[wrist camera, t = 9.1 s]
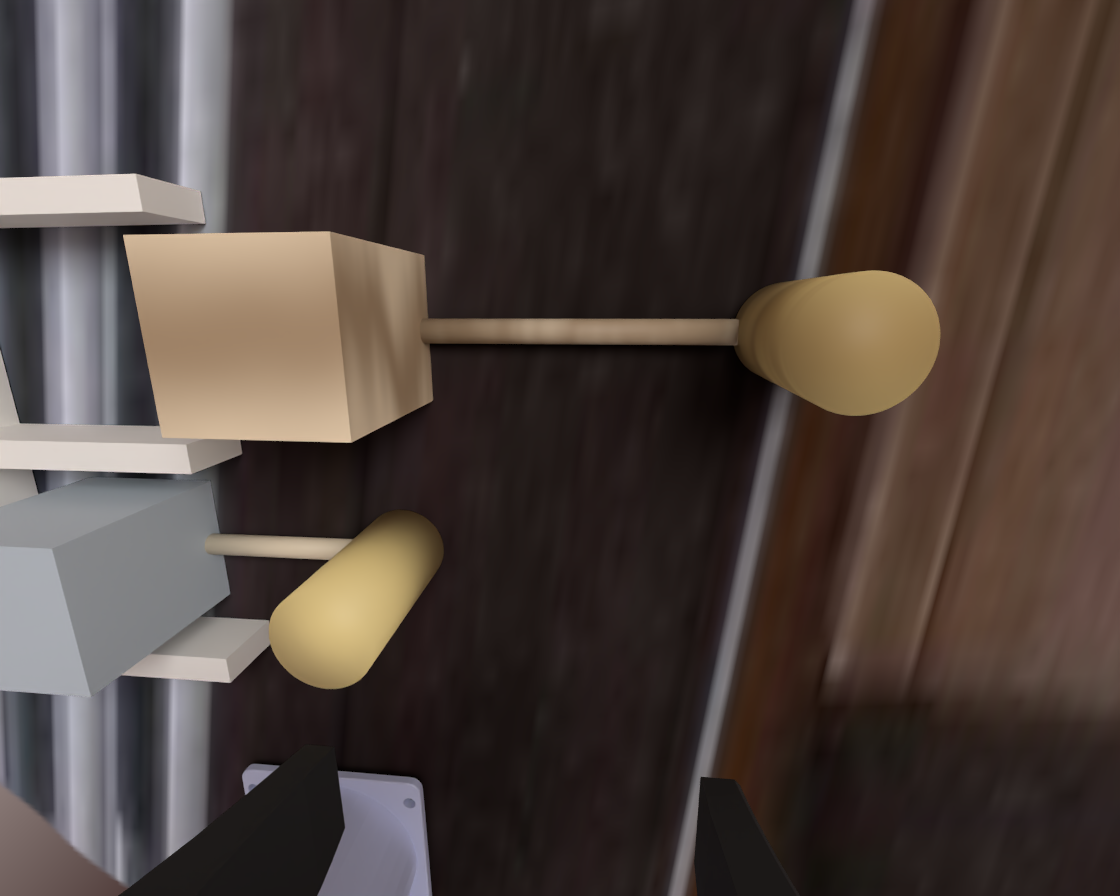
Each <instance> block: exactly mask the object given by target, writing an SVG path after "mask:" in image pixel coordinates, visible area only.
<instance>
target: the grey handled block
mask: <svg viewBox="0 0 1120 896" xmlns="http://www.w3.org/2000/svg"><path fill="white" fill-rule="evenodd" d="M224 555H234V556H255V557H277V558H298V559H320V560H329V561H328V562H327V563H326V564H325V565H323V566H322V567H321V568H320V569H319V570H318V571H317V572H316V573H314V574H313V575H312V576H311V577H310V578H309V579H308V580H306V581H305V582H304V583H303V584H302V585H301V586H300V587H298V588H297V589H296V590H295V591H294V592H293V593H292V594H290V595H289V596H288V597H287V598H286V599H285V600H284V601H283V602H281V603H280V604H279V605H278V606H277V608H276V609H275V611H274V612H273V614H272V616H271V619H270V623H269V640H270V644H271V647H272V650H273V652H274V654H275V656H276V658H277V659H278V661H279V662H280V663H281V665H282V666H283V667H284V668H285V669H286V670H287V671H288V672H289V673H290V674H292V675H293V676H294V677H296V678H297V679H299V680H300V681H302V682H304V683H306V684H309V685H312V686H315V687H319V688H325V689H338V688H343V687H347V686H350V685H352V684H354V683H356V682H357V681H359V680H360V679H361V678H362V677H363V676H364V675H365V674H366V673H367V672H368V670H369V669H370V667H371V666H372V664H373V663H374V661H375V660H376V658H377V657H378V656H379V654H380V653H381V651H382V650H383V648H384V647H385V645H386V644H387V642H388V641H389V640H390V638H391V637H392V635H393V634H394V632H395V631H396V629H397V628H398V627H399V625H400V624H401V622H402V621H403V619H404V618H405V616H406V615H407V613H408V612H409V611H410V609H411V608H412V606H413V605H414V603H415V602H416V600H417V599H418V598H419V596H420V595H421V593H422V592H423V590H424V589H425V587H426V586H427V584H428V583H429V582H430V580H431V579H432V577H433V576H434V574H435V573H436V571H437V570H438V568H439V567H440V565H441V563H442V560H443V555H444V547H443V542H442V538H441V536H440V534H439V532H438V530H437V529H436V527H435V526H434V525H433V524H432V523H431V522H430V521H429V520H428V519H427V518H425V517H424V516H422V515H420V514H418V513H415V512H413V511H408V510H393V511H389V512H386V513H384V514H382V515H381V516H379V517H378V518H377V519H376V520H375V521H374V522H372V523H371V524H370V525H369V526H368V527H367V528H366V529H364V530H363V531H362V532H361V533H360V534H359V535H358V536H356V537H355V538H354V539H337V538H313V537H290V536H266V535H242V534H220V532H219V527H218V521H217V515H216V510H215V504H214V498H213V493H212V487H211V482H210V481H203V480H171V479H139V478H107V477H90V478H87V479H84V480H81V481H78V482H75V483H72V484H69V485H66V486H63V487H60V488H56V489H53V490H50V491H47V492H44V493H41V494H38V495H35V496H32V497H29V498H26V499H23V500H20V501H17V502H14V503H10V504H7V505H4V506H1V507H0V690H4V691H17V692H30V693H43V694H55V695H68V696H81V697H92V696H94V695H95V694H96V693H98V692H99V691H100V690H102V689H103V688H104V687H106V686H107V685H108V684H110V683H111V682H112V681H114V680H115V679H116V678H118V677H119V676H121V675H122V674H123V673H125V672H126V671H127V670H129V669H130V668H131V667H133V666H134V665H135V664H137V663H138V662H139V661H141V660H142V659H143V658H145V657H146V656H147V655H149V654H150V653H152V652H153V651H154V650H156V649H157V648H158V647H160V646H161V645H162V644H164V643H165V642H166V641H168V640H169V639H170V638H172V637H173V636H174V635H176V634H177V633H178V632H180V631H181V630H183V629H184V628H185V627H187V626H188V625H189V624H191V623H192V622H193V621H195V620H196V619H197V618H199V617H200V616H201V615H203V614H204V613H205V612H207V611H208V610H209V609H211V608H212V607H214V606H215V605H216V604H218V603H219V602H220V601H222V600H223V599H224V598H226V597H227V596H228V595H230V589H229V583H228V578H227V572H226V566H225V561H224Z"/></svg>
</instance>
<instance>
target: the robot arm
mask: <svg viewBox="0 0 1120 896" xmlns="http://www.w3.org/2000/svg"><path fill="white" fill-rule="evenodd" d="M242 779H243V785H244V790H245V796H244V797H243V798H241V799H240V800H239V801H238V802H237V803H235V804H234V805H233V806H232V807H231V808H229V809H228V810H227V811H226V812H225V813H223V814H222V815H221V816H220V817H218V818H217V819H216V820H215V821H214V822H212V823H211V824H210V825H209V826H208V827H206V828H205V829H204V830H203V831H202V832H200V833H199V834H198V835H197V836H195V837H194V838H193V839H192V840H190V841H189V842H188V843H186V844H185V845H184V846H183V847H181V848H180V849H179V850H177V851H176V852H175V853H174V854H172V855H171V856H170V857H168V858H167V859H166V860H165V861H163V862H162V863H161V864H159V865H158V866H157V867H155V868H154V869H153V870H152V871H150V872H149V873H148V874H146V875H145V876H144V877H143V878H141V879H140V880H139V881H137V882H136V883H135V884H134V885H132V886H131V887H130V888H128V889H127V890H125V891H124V892H123V893H121V894H120V895H119V896H432V888H431V876H430V865H429V853H428V841H427V830H426V818H425V806H424V795H423V786H422V784H421V783H420V781H419V780H417V779H416V778H412V777H403V776H392V775H380V774H369V773H357V772H346V771H338V770H337V762H336V755H335V747H331V746H318V745H305V746H303V747H302V748H301V749H300V750H298V751H297V752H296V753H295V754H294V755H292V756H291V757H290V758H289V759H288V760H286V761H285V762H284V763H283V764H282V765H280V766H277V765H265V764H251V765H249V766H248V767H247V769H246V770H245V771H244V773H243V774H242ZM409 798H410V799H409ZM411 799H412V800H411ZM694 864H695V874H696V885H697V895H698V896H800V895H799V894H798V892H797V890H796V889H795V887H794V885H793V884H792V882H791V881H790V879H789V877H788V876H787V874H786V872H785V870H784V869H783V867H782V865H781V863H780V862H779V860H778V858H777V856H776V855H775V853H774V851H773V849H772V847H771V846H770V844H769V842H768V840H767V838H766V837H765V835H764V833H763V831H762V829H761V827H760V825H759V823H758V822H757V820H756V818H755V816H754V814H753V812H752V810H751V808H750V806H749V804H748V802H747V800H746V798H745V796H744V794H743V791H742V789H741V787H740V785H739V784H738V783H737V782H736V781H735V780H732V779H720V778H708V777H701V780H700V794H699V807H698V820H697V833H696V846H695V860H694Z"/></svg>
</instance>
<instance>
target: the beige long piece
mask: <svg viewBox="0 0 1120 896" xmlns="http://www.w3.org/2000/svg"><path fill="white" fill-rule="evenodd" d="M123 238H124V243H125V248H126V253H127V258H128V263H129V269H130V274H131V279H132V284H133V289H134V294H135V300H136V305H137V310H138V315H139V320H140V325H141V331H142V336H143V341H144V346H145V351H146V356H147V362H148V367H149V372H150V377H151V382H152V387H153V393H154V398H155V403H156V408H157V413H158V418H159V424H160V429H161V434H162V438H191V439H229V440H267V441H306V442H344V443H352V442H354V441H356V440H358V439H359V438H361V437H363V436H365V435H367V434H369V433H371V432H373V431H375V430H377V429H379V428H381V427H383V426H385V425H387V424H389V423H391V422H393V421H395V420H396V419H398V418H400V417H402V416H404V415H406V414H408V413H410V412H412V411H414V410H416V409H418V408H420V407H422V406H424V405H426V404H428V403H430V402H431V401H433V392H432V376H431V359H430V343H442V344H599V345H734V348H735V351H736V354H737V356H738V358H739V359H740V361H741V362H742V363H743V365H744V366H745V367H746V368H748V369H749V370H750V371H752V372H753V373H755V374H757V375H759V376H761V377H763V378H765V379H767V380H769V381H770V382H772V383H774V384H776V385H778V386H780V387H782V388H784V389H786V390H788V391H790V392H792V393H794V394H796V395H798V396H800V397H802V398H804V399H806V400H808V401H810V402H812V403H814V404H815V405H817V406H819V407H821V408H823V409H825V410H828V411H830V412H833V413H837V414H842V415H851V416H859V415H868V414H873V413H877V412H880V411H883V410H886V409H888V408H891V407H893V406H894V405H896V404H898V403H900V402H901V401H903V400H904V399H906V398H907V397H908V396H910V395H911V394H912V393H913V392H914V391H915V390H916V389H917V388H918V387H919V386H920V385H921V384H922V382H923V381H924V380H925V378H926V377H927V375H928V374H929V372H930V370H931V368H932V366H933V365H934V362H935V359H936V357H937V353H938V349H939V344H940V324H939V319H938V315H937V312H936V309H935V307H934V305H933V303H932V301H931V300H930V298H929V297H928V296H927V294H926V293H925V292H924V291H923V290H922V289H921V288H920V287H919V286H918V285H916V284H915V283H914V282H912V281H911V280H909V279H907V278H905V277H903V276H901V275H898V274H895V273H891V272H886V271H874V270H873V271H861V272H854V273H847V274H839V275H832V276H825V277H818V278H810V279H803V280H796V281H788V282H781V283H776V284H772V285H769V286H766V287H764V288H762V289H760V290H759V291H757V292H755V293H754V294H753V295H752V296H750V297H749V298H748V299H747V301H746V302H745V303H744V304H743V305H742V307H741V308H740V310H739V312H738V314H737V316H736V319H428V311H427V294H426V278H425V262H424V255H421V254H417V253H413V252H409V251H405V250H401V249H397V248H393V247H389V246H385V245H381V244H377V243H373V242H369V241H365V240H361V239H357V238H353V237H349V236H345V235H341V234H337V233H333V232H274V233H211V234H147V235H123Z"/></svg>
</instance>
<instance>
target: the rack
mask: <svg viewBox="0 0 1120 896" xmlns="http://www.w3.org/2000/svg"><path fill="white" fill-rule="evenodd" d="M170 224H206V223H205V217H204V211H203V204H202V198H201V192H200V191H198V190H194V189H190V188H186V187H183V186H179V185H175V184H172V183H168V182H164V181H161V180H157V179H153V178H149V177H146V176H142V175H138V174H113V175H82V176H51V177H20V178H0V228H31V227H78V226H124V225H170ZM241 454H242V449H241V442H240V440H229V439H191V438H162V434H161V429H160V426H123V425H72V424H21V423H19V419H18V415H17V411H16V408H15V404H14V400H13V396H12V392H11V389H10V385H9V381H8V377H7V374H6V370H5V366H4V362H3V358H2V355H1V351H0V507H1V506H4V505H7V504H10V503H14V502H17V501H20V500H23V499H26V498H29V497H32V496H35V495H38V491H37V487H36V483H35V480H34V476H33V472H32V469H33V470H68V471H102V472H136V473H170V474H193V473H196V472H198V471H201V470H203V469H206V468H208V467H211V466H213V465H216V464H218V463H221V462H223V461H226V460H228V459H231V458H233V457H236V456H238V455H241ZM269 645H270V640H269V620H253V619H236V618H219V617H201V616H200V617H199V618H197V619H196V620H195V621H193V622H192V623H191V624H189V625H188V626H187V627H185V628H184V629H183V630H181V631H180V632H178V633H177V634H176V635H174V636H173V637H172V638H170V639H169V640H168V641H166V642H165V643H164V644H162V645H161V646H160V647H158V648H157V649H156V650H154V651H153V652H152V653H150V654H149V655H147V656H146V657H145V658H143V659H142V660H141V661H139V662H138V663H137V664H135V665H134V666H133V667H131V668H130V669H129V670H127V671H126V672H125V673H123V674H122V675H127V676H141V677H155V678H169V679H183V680H197V681H212V682H226V683H231V682H232V681H233V680H234V679H235V678H236V677H237V676H238V675H239V674H240V673H241V672H242V671H243V670H244V669H245V668H246V667H247V666H248V665H249V664H250V663H251V662H252V661H253V660H254V659H255V658H256V657H257V656H259V655H260V654H261V653H262V652H263V651H264V650H265V649H266V648H267V647H268V646H269Z"/></svg>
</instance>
